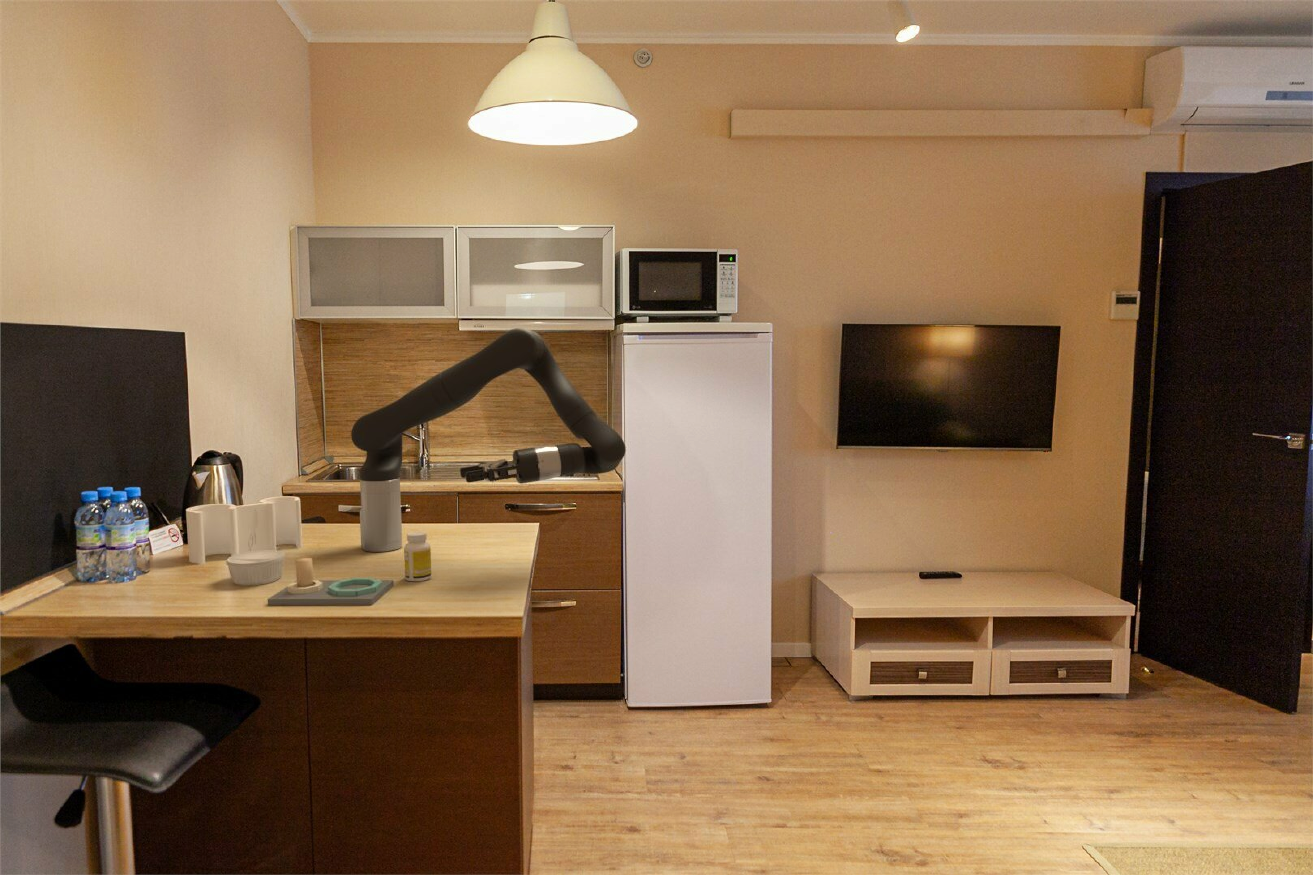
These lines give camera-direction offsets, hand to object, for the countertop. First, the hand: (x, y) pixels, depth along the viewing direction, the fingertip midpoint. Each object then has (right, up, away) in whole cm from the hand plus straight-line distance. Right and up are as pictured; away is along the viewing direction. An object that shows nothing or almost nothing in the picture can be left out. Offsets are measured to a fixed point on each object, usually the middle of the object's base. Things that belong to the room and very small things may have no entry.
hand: (463, 475), depth 181 cm
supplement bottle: (-9, -22, -1) cm, 24 cm away
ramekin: (-43, -22, -1) cm, 49 cm away
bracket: (-57, -20, +23) cm, 65 cm away
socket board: (-23, -23, -13) cm, 35 cm away
